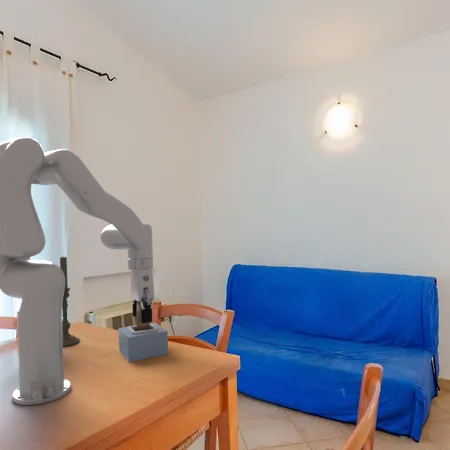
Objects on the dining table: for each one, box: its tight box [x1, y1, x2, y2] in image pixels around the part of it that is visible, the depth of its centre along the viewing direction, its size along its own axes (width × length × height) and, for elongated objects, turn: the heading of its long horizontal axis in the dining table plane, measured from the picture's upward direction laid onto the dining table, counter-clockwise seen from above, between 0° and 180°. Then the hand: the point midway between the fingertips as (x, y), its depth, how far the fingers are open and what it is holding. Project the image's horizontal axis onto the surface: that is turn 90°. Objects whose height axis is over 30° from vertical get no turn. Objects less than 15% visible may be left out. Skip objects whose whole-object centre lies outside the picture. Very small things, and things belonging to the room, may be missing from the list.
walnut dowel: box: [136, 302, 151, 331], centre depth 119 cm, size 4×4×14 cm
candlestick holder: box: [59, 255, 81, 348], centre depth 130 cm, size 9×9×30 cm
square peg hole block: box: [118, 322, 169, 363], centre depth 119 cm, size 12×12×8 cm
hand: (142, 319), depth 119 cm, fingers open, 9 cm apart
